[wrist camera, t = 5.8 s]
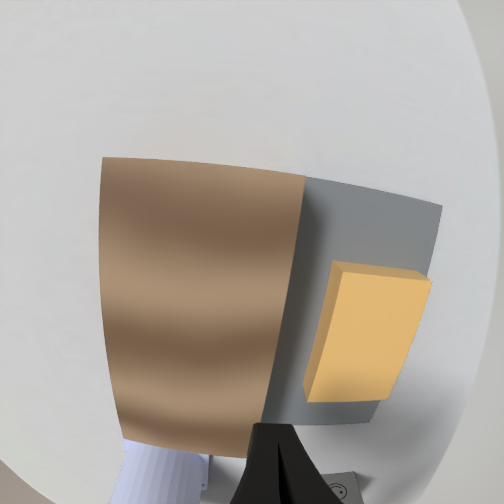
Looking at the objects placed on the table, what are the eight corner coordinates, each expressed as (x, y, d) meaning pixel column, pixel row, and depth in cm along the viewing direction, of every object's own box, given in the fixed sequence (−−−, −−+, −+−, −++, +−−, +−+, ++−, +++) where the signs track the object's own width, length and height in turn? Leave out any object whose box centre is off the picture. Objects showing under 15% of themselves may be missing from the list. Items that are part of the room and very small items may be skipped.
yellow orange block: (307, 402, 17) (302, 383, 19) (387, 399, 18) (378, 382, 20) (342, 272, 15) (332, 260, 17) (432, 281, 15) (416, 270, 17)
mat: (367, 419, 21) (369, 422, 21) (238, 418, 21) (237, 422, 20) (438, 204, 17) (442, 205, 16) (274, 171, 16) (274, 172, 16)
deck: (250, 419, 21) (251, 458, 17) (137, 403, 20) (123, 438, 17) (291, 174, 16) (305, 176, 12) (133, 159, 16) (102, 157, 12)
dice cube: (353, 470, 24) (364, 506, 19) (338, 492, 25) (346, 524, 20) (308, 474, 24) (315, 513, 19) (297, 495, 25) (302, 529, 20)
